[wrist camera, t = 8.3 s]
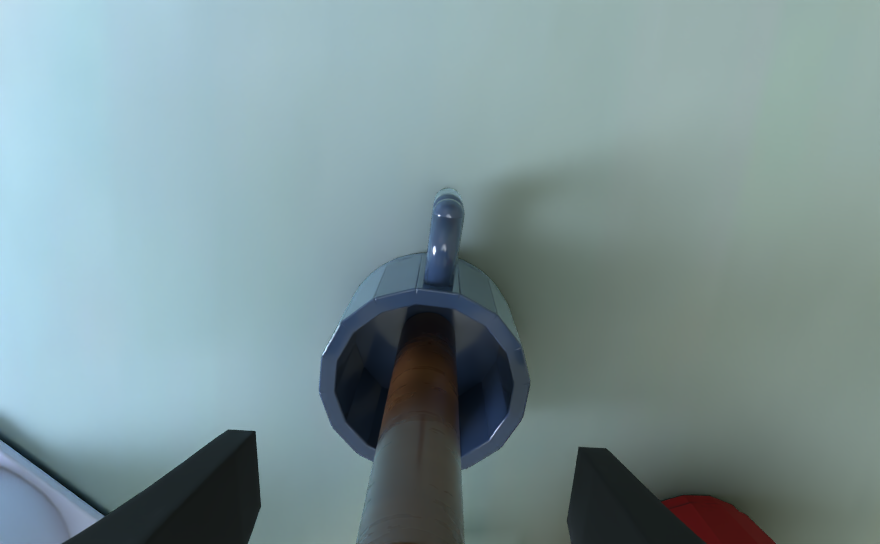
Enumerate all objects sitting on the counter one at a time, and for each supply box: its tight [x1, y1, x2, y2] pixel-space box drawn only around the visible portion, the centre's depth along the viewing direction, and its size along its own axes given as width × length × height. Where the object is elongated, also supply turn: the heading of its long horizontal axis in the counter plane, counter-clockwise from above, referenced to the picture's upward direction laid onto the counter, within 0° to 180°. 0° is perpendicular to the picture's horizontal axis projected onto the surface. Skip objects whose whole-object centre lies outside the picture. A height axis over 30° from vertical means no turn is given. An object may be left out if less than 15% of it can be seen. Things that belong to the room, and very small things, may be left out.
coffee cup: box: [319, 188, 530, 470], centre depth 16 cm, size 9×6×4 cm
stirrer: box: [356, 313, 465, 544], centre depth 13 cm, size 2×2×10 cm
